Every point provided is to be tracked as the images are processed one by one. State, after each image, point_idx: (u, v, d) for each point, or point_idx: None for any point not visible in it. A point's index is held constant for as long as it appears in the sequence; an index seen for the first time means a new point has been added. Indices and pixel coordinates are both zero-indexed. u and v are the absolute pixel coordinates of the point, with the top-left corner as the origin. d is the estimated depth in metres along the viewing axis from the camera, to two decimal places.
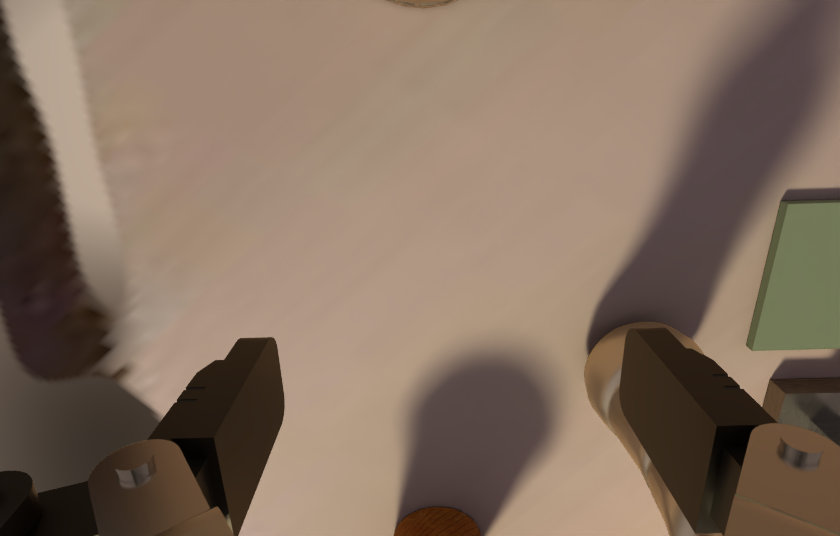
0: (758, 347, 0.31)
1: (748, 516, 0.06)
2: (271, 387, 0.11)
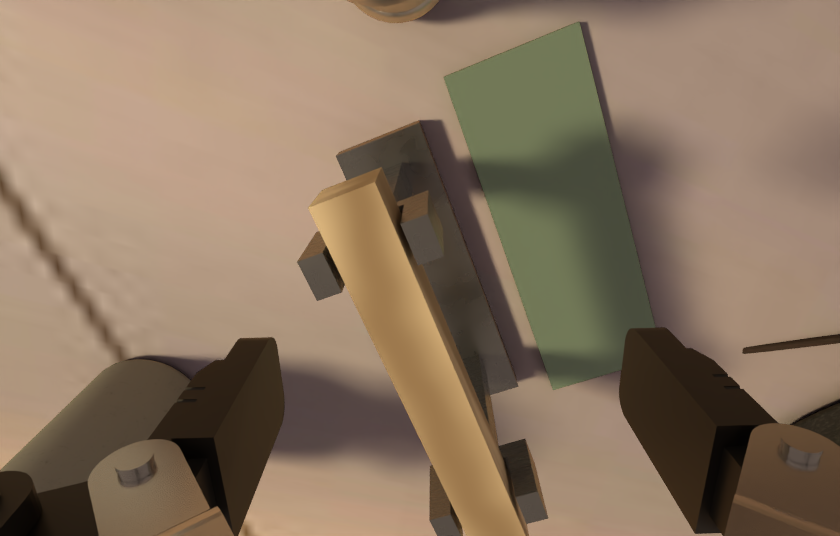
0: (448, 81, 0.34)
1: (748, 516, 0.06)
2: (271, 387, 0.11)
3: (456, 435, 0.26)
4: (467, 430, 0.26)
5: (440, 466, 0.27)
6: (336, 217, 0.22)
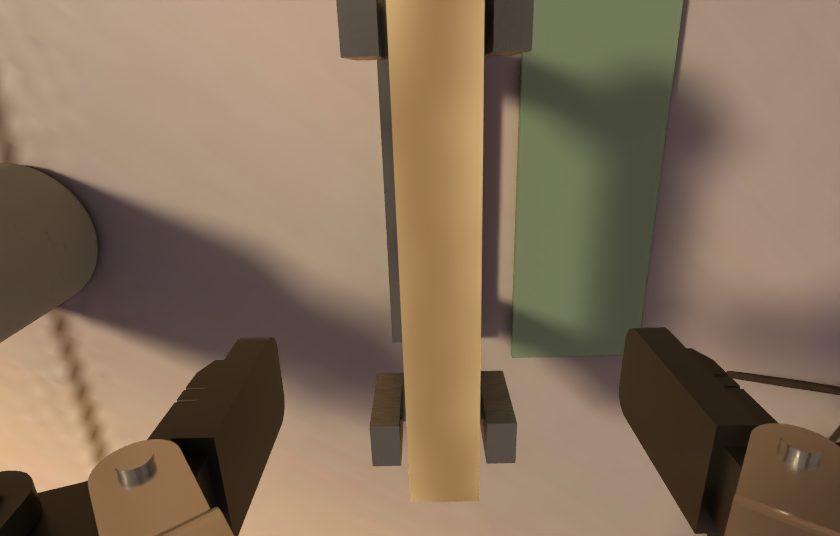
0: None
1: (748, 516, 0.06)
2: (271, 388, 0.11)
3: (448, 316, 0.20)
4: (464, 314, 0.20)
5: (412, 355, 0.20)
6: None
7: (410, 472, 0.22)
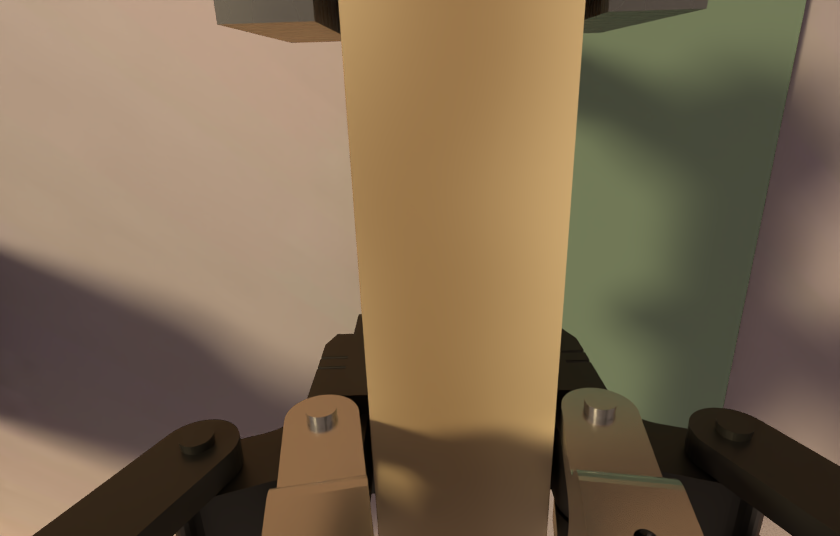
0: None
1: (595, 489, 0.06)
2: None
3: None
4: None
5: None
6: None
7: None
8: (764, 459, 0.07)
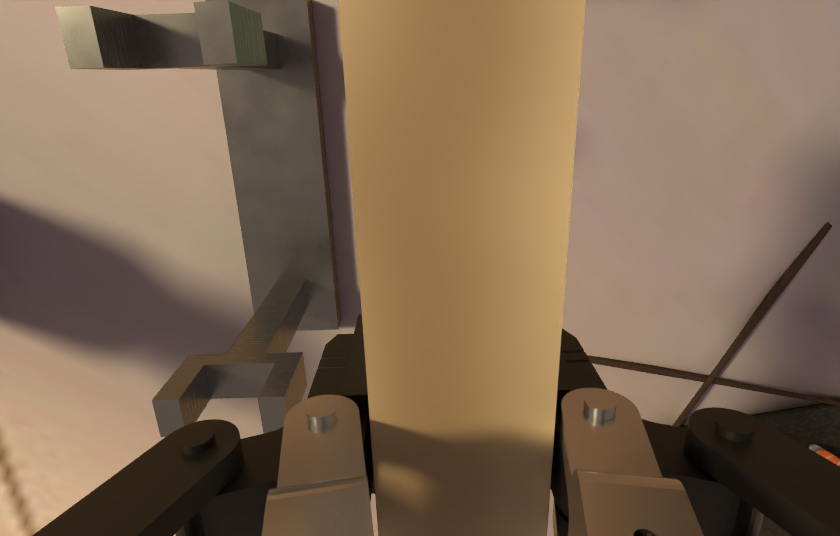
0: None
1: (595, 489, 0.06)
2: None
3: None
4: None
5: None
6: None
7: None
8: (764, 459, 0.07)
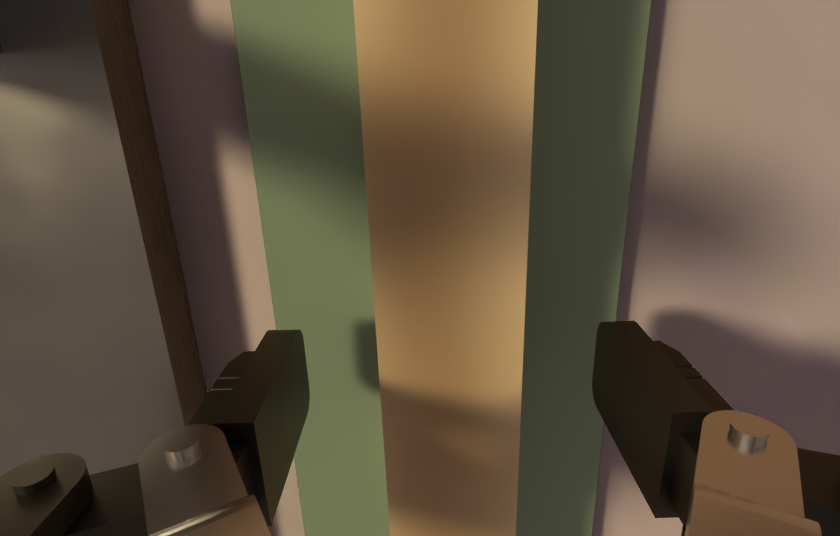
0: None
1: (709, 505, 0.06)
2: (299, 378, 0.12)
3: (463, 473, 0.12)
4: (491, 468, 0.12)
5: (404, 528, 0.12)
6: None
7: None
8: None
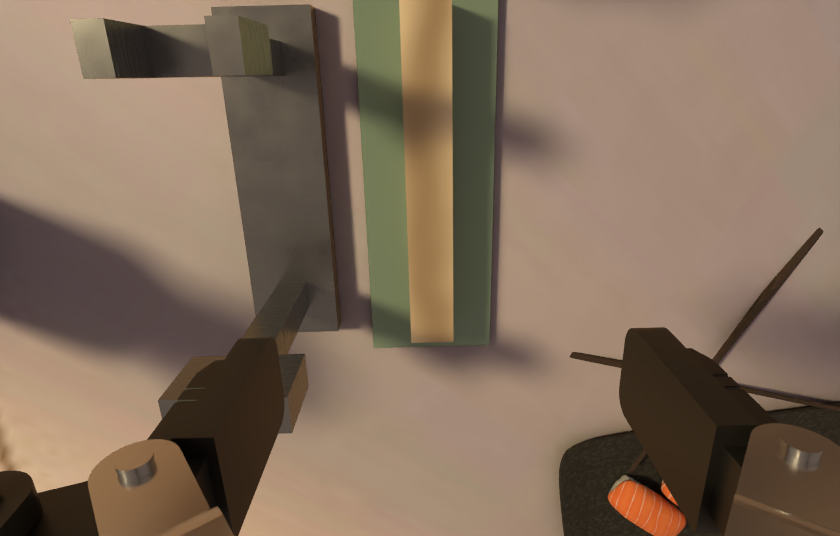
0: None
1: (747, 516, 0.06)
2: (271, 387, 0.11)
3: (434, 221, 0.34)
4: (443, 219, 0.34)
5: (413, 245, 0.35)
6: (415, 12, 0.30)
7: (411, 322, 0.37)
8: None
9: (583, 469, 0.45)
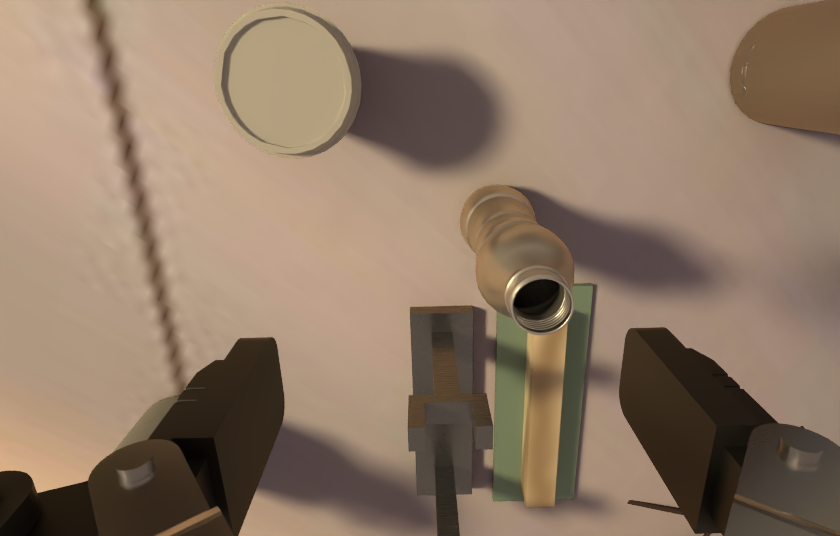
0: None
1: (748, 516, 0.06)
2: (271, 388, 0.11)
3: (546, 438, 0.52)
4: (553, 437, 0.52)
5: (532, 451, 0.53)
6: None
7: (527, 495, 0.55)
8: None
9: None
